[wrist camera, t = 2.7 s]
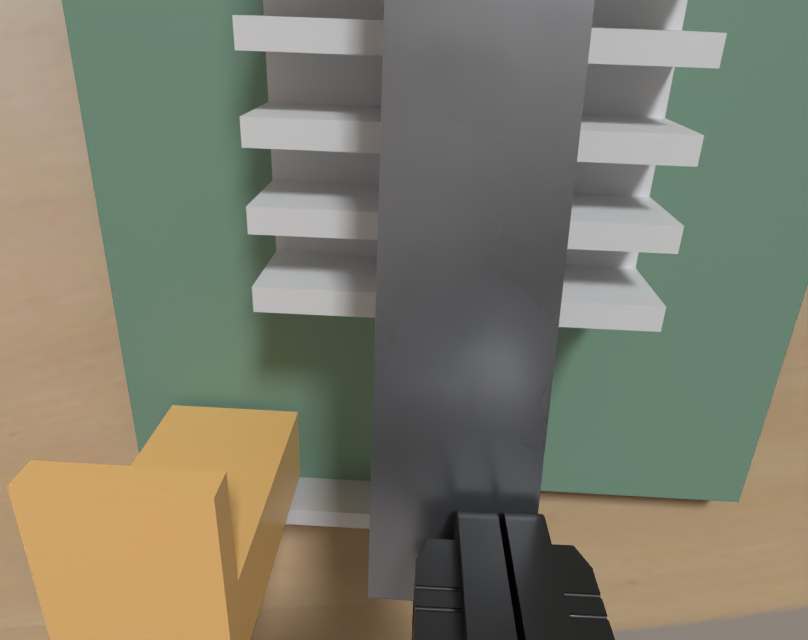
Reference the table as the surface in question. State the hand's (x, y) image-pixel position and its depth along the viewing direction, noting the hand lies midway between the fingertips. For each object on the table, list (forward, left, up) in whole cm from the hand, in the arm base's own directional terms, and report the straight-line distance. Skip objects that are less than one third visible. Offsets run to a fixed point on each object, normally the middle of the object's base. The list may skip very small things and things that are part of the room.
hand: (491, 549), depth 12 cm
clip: (+7, +2, -8) cm, 11 cm away
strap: (+1, -7, -2) cm, 7 cm away
